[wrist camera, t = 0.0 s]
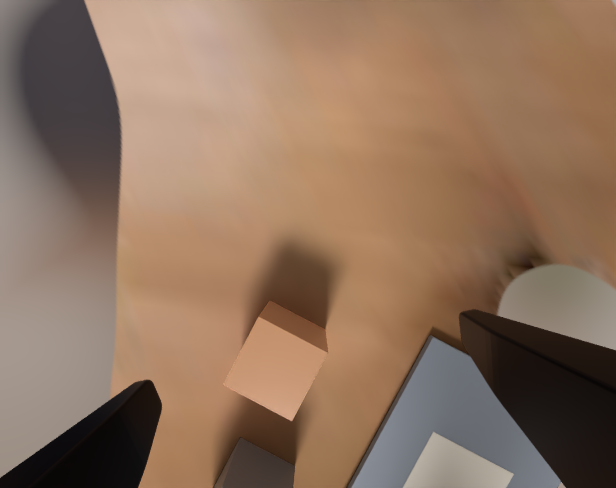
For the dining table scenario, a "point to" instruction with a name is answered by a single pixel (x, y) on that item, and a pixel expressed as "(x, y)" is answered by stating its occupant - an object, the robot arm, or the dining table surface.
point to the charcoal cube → (255, 469)
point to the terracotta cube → (279, 360)
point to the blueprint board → (450, 433)
